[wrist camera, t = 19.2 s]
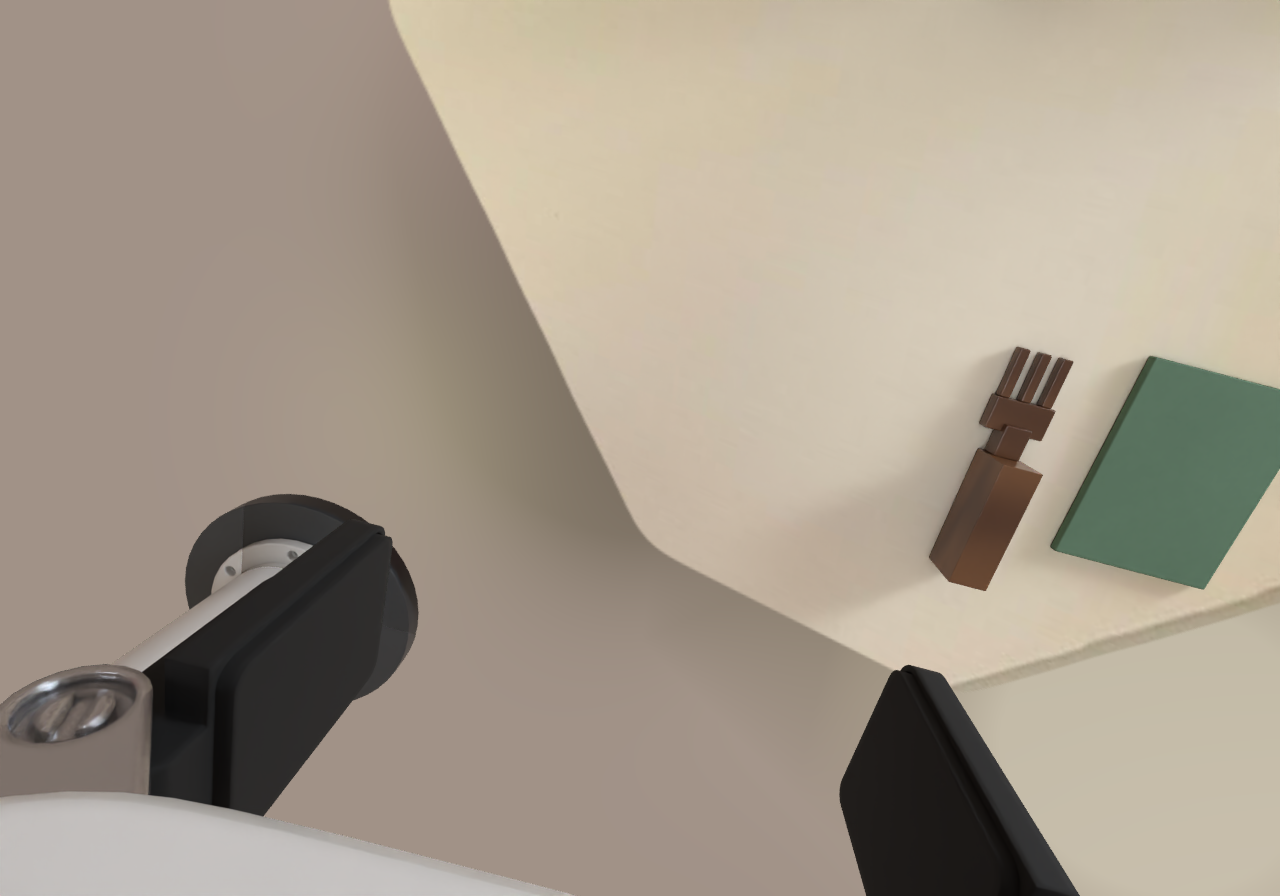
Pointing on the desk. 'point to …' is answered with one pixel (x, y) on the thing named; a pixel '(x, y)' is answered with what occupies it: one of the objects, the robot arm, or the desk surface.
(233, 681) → the robot arm
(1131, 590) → the desk surface
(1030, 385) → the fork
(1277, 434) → the towel
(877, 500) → the desk surface
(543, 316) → the desk surface
